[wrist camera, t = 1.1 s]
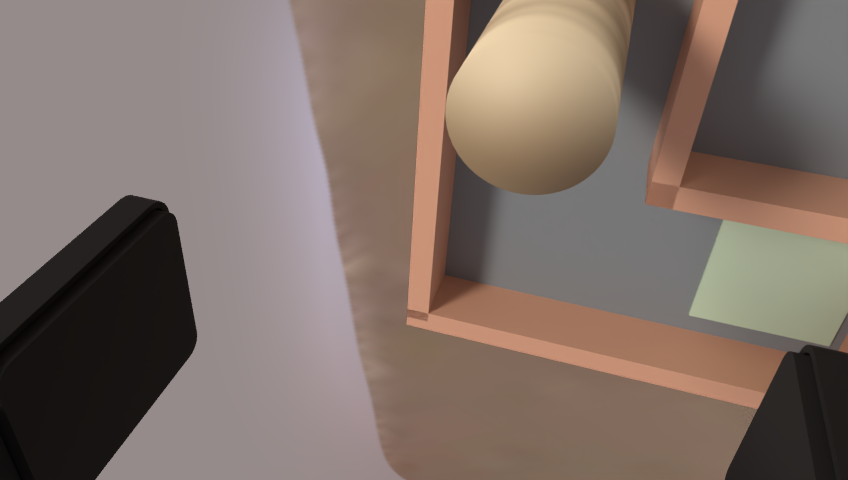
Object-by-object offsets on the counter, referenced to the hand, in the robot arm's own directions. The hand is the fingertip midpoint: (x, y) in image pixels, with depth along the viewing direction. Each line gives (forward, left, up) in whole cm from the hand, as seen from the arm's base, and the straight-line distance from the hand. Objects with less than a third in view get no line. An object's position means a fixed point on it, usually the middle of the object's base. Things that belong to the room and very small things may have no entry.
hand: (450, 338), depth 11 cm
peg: (0, 0, -20) cm, 20 cm away
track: (+6, +5, -20) cm, 22 cm away
